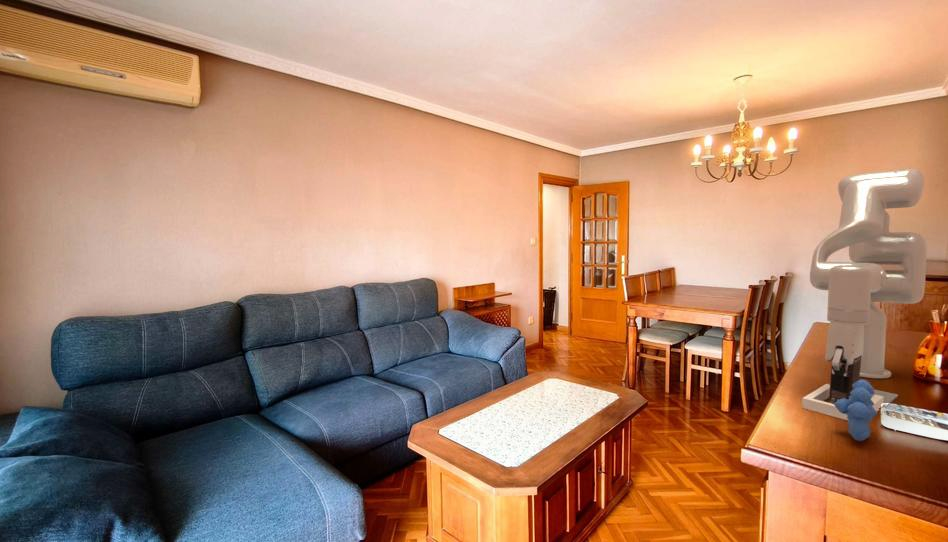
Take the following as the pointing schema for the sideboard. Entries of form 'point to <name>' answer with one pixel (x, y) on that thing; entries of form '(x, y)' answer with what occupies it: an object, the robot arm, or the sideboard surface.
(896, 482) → the sideboard surface
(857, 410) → the grapes
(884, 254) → the robot arm
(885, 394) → the mat
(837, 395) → the box
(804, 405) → the white rectangular frame
